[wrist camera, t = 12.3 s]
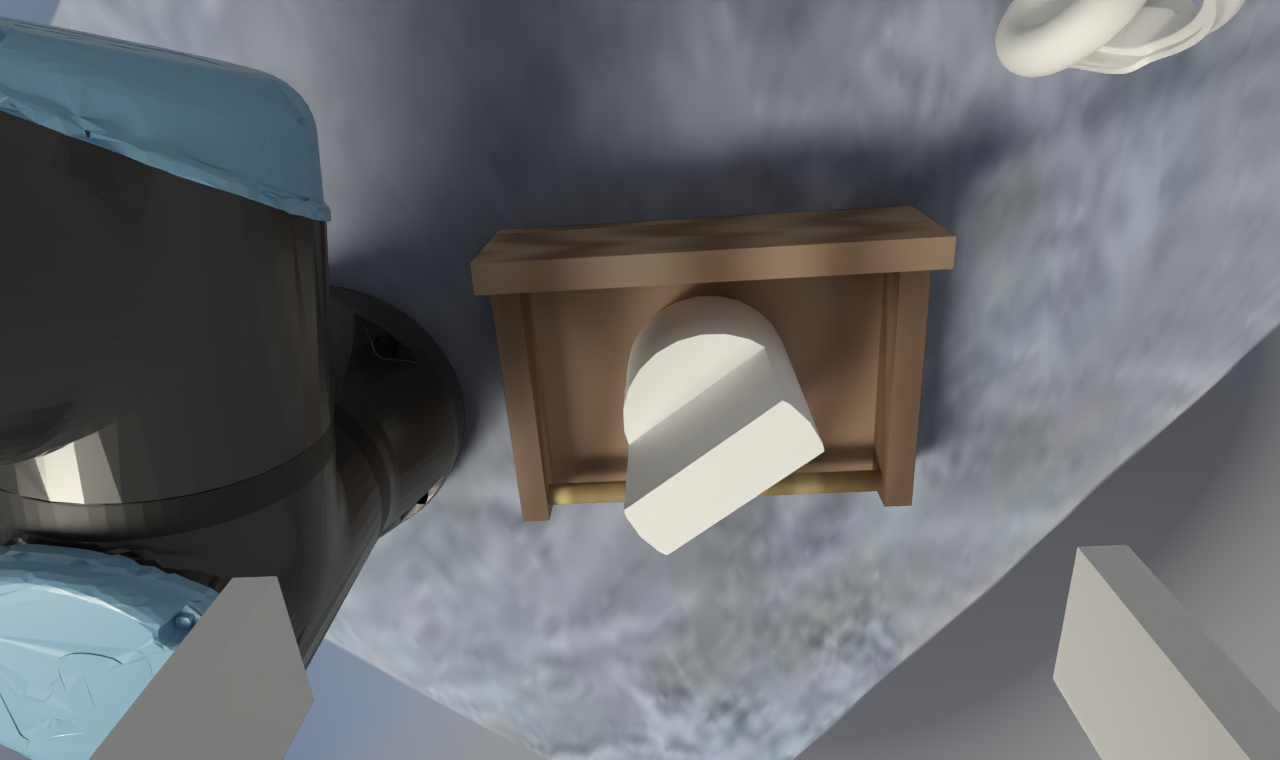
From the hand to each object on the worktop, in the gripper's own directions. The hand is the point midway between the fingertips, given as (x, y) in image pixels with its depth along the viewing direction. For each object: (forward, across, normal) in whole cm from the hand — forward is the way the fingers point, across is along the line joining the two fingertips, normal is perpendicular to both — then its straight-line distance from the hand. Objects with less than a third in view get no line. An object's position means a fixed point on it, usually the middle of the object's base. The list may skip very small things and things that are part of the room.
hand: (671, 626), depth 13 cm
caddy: (+32, +2, -8) cm, 33 cm away
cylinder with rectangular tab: (+31, +2, -8) cm, 32 cm away
